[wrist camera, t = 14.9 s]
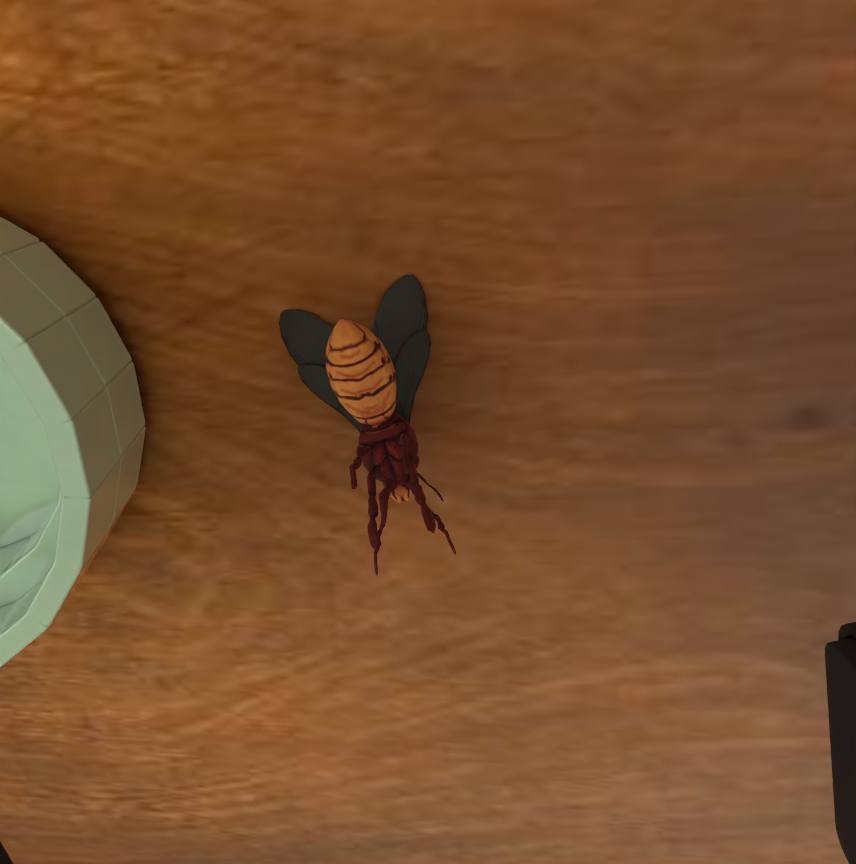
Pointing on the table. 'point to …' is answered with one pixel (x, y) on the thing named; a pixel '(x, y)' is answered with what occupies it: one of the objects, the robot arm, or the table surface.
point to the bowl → (57, 434)
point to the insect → (372, 389)
